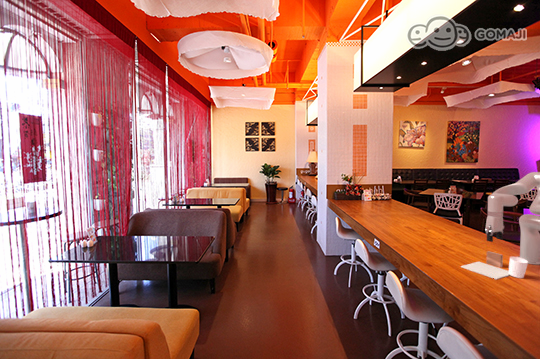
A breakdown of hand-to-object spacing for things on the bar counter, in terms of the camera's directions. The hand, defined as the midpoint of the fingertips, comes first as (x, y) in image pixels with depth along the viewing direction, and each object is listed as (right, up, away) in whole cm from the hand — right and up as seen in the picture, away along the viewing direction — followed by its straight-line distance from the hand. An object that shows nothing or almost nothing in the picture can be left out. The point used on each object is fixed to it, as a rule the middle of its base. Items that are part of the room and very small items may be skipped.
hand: (494, 240), depth 172 cm
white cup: (+1, -18, -14) cm, 23 cm away
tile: (+2, -17, +2) cm, 17 cm away
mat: (-9, -18, -5) cm, 21 cm away
